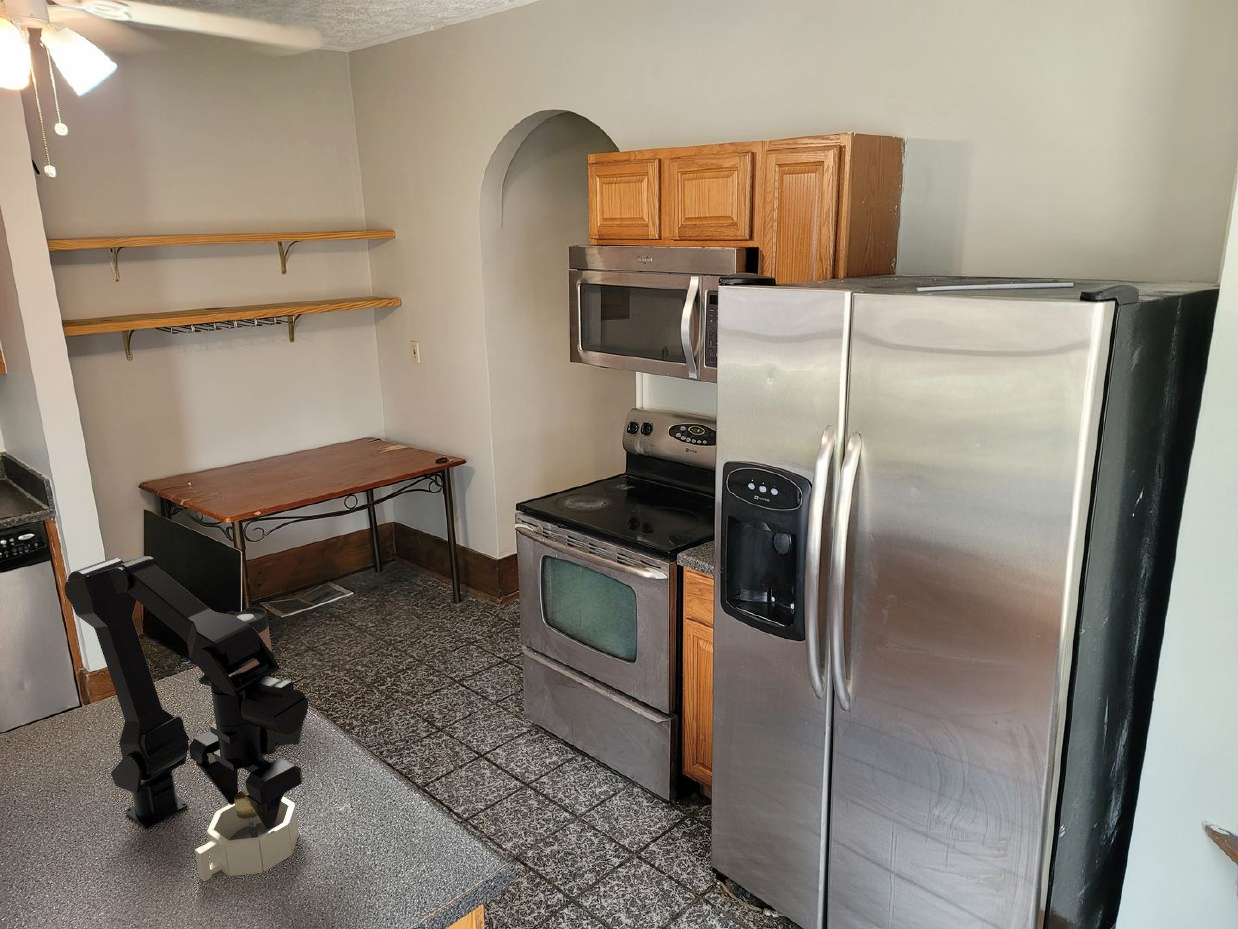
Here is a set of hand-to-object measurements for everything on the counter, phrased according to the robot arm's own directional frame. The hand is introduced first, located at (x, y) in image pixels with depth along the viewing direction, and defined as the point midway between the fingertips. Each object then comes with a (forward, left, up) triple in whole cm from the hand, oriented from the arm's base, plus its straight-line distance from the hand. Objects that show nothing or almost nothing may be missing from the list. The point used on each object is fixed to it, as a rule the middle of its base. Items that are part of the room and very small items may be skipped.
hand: (251, 815), depth 125 cm
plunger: (0, 0, -5) cm, 5 cm away
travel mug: (-32, +20, -6) cm, 38 cm away
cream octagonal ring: (0, -1, -5) cm, 6 cm away
